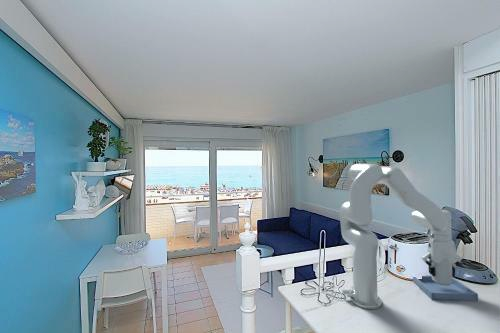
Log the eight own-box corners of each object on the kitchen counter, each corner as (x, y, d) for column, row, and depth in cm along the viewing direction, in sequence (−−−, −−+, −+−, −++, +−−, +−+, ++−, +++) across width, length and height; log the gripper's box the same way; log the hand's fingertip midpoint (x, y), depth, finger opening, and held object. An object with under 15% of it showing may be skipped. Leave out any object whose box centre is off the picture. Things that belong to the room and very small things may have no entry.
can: (456, 287, 106) (456, 260, 106) (437, 285, 108) (436, 259, 107) (446, 278, 113) (445, 253, 113) (428, 277, 115) (427, 252, 115)
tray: (431, 299, 104) (431, 292, 104) (411, 281, 120) (411, 275, 119) (477, 301, 102) (477, 294, 101) (451, 281, 117) (450, 275, 117)
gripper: (425, 239, 107) (426, 278, 108) (468, 239, 105) (469, 279, 106) (415, 234, 115) (416, 271, 115) (455, 234, 113) (456, 271, 113)
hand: (441, 274), depth 110 cm, fingers closed on can, 7 cm apart
